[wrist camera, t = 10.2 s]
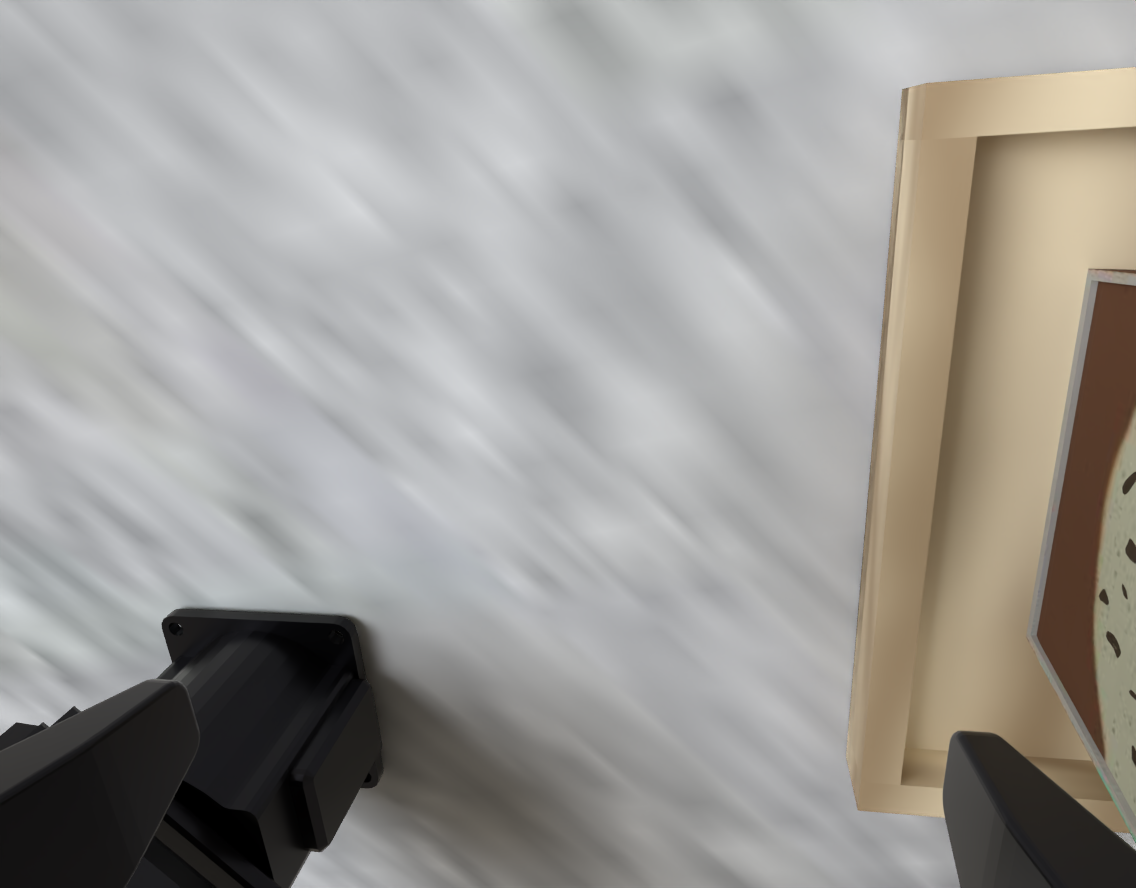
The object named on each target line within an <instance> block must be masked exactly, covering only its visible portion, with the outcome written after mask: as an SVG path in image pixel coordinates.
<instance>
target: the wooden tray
mask: <svg viewBox="0 0 1136 888" xmlns="http://www.w3.org/2000/svg"><path fill="white" fill-rule="evenodd" d="M1088 269H1127V270H1136V67H1131V68H1118V69H1105V70H1092V71H1079V72H1066V73H1053V74H1040V75H1027V76H1013V77H1000V78H987V79H974V80H961V81H948V82H935V83H925V84H921V85H917V86H913V87H910V88H906V89H902V99H901V111H900V122H899V134H898V146H897V158H896V170H895V182H894V193H893V205H892V217H891V229H890V241H889V253H888V265H887V276H886V288H885V300H884V312H883V324H882V336H881V347H880V359H879V371H878V383H877V395H876V407H875V419H874V430H873V442H872V454H871V466H870V478H869V490H868V501H867V513H866V525H865V537H864V549H863V561H862V573H861V584H860V596H859V608H858V620H857V632H856V644H855V655H854V667H853V679H852V691H851V703H850V715H849V727H848V738H847V750H846V759H847V763H848V768H849V772H850V777H851V781H852V786H853V790H854V795H855V799H856V804H857V808H858V810H859V811H871V812H883V813H895V814H907V815H919V816H931V817H943V818H945V815H944V809H943V784H944V777H945V770H946V763H947V756H948V749H949V743H950V739H951V737H952V735H953V733H955V732H957V731H960V730H962V731H978V732H991V733H995V734H997V735H999V736H1000V737H1002V738H1003V739H1004V740H1005V741H1007V742H1008V743H1009V744H1010V745H1011V746H1013V747H1014V748H1015V749H1016V750H1017V751H1018V752H1020V753H1021V754H1022V755H1023V756H1024V757H1026V758H1027V759H1028V760H1029V761H1030V762H1031V763H1033V764H1034V765H1035V766H1036V767H1037V768H1039V769H1040V770H1041V771H1042V772H1043V773H1045V774H1046V775H1047V776H1048V777H1049V778H1050V779H1052V780H1053V781H1054V782H1055V783H1056V784H1058V785H1059V786H1060V787H1061V788H1062V789H1063V790H1065V791H1066V792H1067V793H1068V794H1069V795H1071V796H1072V797H1073V798H1074V799H1075V800H1076V801H1078V802H1079V803H1080V804H1081V805H1082V806H1084V807H1085V808H1086V809H1087V810H1088V811H1090V812H1091V813H1092V814H1093V815H1094V816H1095V817H1097V818H1098V819H1099V820H1100V821H1101V822H1103V823H1104V824H1105V825H1106V826H1107V827H1108V828H1110V829H1111V830H1112V831H1113V832H1123V833H1130V831H1129V829H1128V827H1127V826H1126V824H1125V822H1124V820H1123V818H1122V816H1121V814H1120V812H1119V811H1118V809H1117V807H1116V805H1115V803H1114V801H1113V799H1112V797H1111V796H1110V794H1109V792H1108V790H1107V788H1106V786H1105V784H1104V782H1103V781H1102V779H1101V777H1100V775H1099V773H1098V771H1097V769H1096V767H1095V766H1094V764H1093V762H1092V760H1091V758H1090V756H1089V754H1088V752H1087V751H1086V749H1085V747H1084V745H1083V743H1082V741H1081V739H1080V737H1079V736H1078V734H1077V732H1076V730H1075V728H1074V726H1073V724H1072V722H1071V720H1070V719H1069V717H1068V715H1067V713H1066V711H1065V709H1064V707H1063V705H1062V704H1061V702H1060V700H1059V698H1058V696H1057V694H1056V692H1055V690H1054V689H1053V687H1052V685H1051V683H1050V681H1049V679H1048V677H1047V675H1046V674H1045V672H1044V670H1043V668H1042V666H1041V664H1040V662H1039V660H1038V659H1037V657H1036V655H1035V653H1034V651H1033V649H1032V647H1031V645H1030V644H1029V642H1028V640H1027V638H1026V634H1027V628H1028V622H1029V616H1030V610H1031V604H1032V598H1033V592H1034V586H1035V580H1036V574H1037V569H1038V563H1039V557H1040V551H1041V545H1042V539H1043V533H1044V527H1045V521H1046V515H1047V509H1048V503H1049V497H1050V492H1051V486H1052V480H1053V474H1054V468H1055V462H1056V456H1057V450H1058V444H1059V438H1060V432H1061V426H1062V421H1063V415H1064V409H1065V403H1066V397H1067V391H1068V385H1069V379H1070V373H1071V367H1072V361H1073V355H1074V349H1075V344H1076V338H1077V332H1078V326H1079V320H1080V314H1081V308H1082V302H1083V296H1084V290H1085V284H1086V278H1087V272H1088Z"/></svg>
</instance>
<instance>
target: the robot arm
mask: <svg viewBox="0 0 1136 888" xmlns="http://www.w3.org/2000/svg"><path fill="white" fill-rule="evenodd" d="M178 624H179V625H180V626H182V627H180V626H179V625H178ZM162 630H163V633H164V637H165V640H166V643H167V647H168V650H169V653H170V657H171V660H172V664H171V665H170V666H169V667H168V668H167V669H166V670H165V671H164V672H163V673H162V674H161V675H160V676H159V677H158V678H157V679H150V680H146V681H144V682H142V683H140V684H138V685H136V686H133V687H131V688H129V689H127V690H125V691H123V692H121V693H119V694H117V695H115V696H113V697H111V698H109V699H107V700H105V701H103V702H101V703H98V704H96V705H94V706H92V707H90V708H88V709H86V710H84V711H82V712H81V711H80V710H78V709H77V708H76V707H75V706H74V707H73V708H71V709H70V710H69V711H68V712H67V713H66V714H64V715H63V716H62V717H61V718H60V719H59V720H58V721H56V722H55V723H54V724H53V725H52V726H51V727H48V726H47V725H46V724H45V723H44V722H43V723H41V724H40V725H39V726H36V725H29V724H23V723H17V722H16V723H15V724H14V725H13V726H12V727H10V728H9V729H8V730H7V731H6V732H4V733H3V734H2V735H1V736H0V888H291V886H292V884H293V883H294V881H295V879H296V877H297V875H298V874H299V872H300V870H301V868H302V866H303V865H304V863H305V861H306V859H307V857H308V856H309V854H310V852H311V851H314V852H322V851H323V850H324V849H326V848H327V847H328V846H329V845H330V843H331V841H332V840H333V838H334V836H335V834H336V832H337V830H338V828H339V827H340V825H341V823H342V821H343V819H344V817H345V815H346V814H347V812H348V810H349V808H350V806H351V804H352V802H353V800H354V799H355V797H356V795H357V793H358V791H359V789H360V788H373V787H375V786H376V785H377V783H378V782H379V780H380V778H381V776H382V774H383V765H382V760H381V755H380V750H381V748H382V741H381V735H380V730H379V725H378V719H377V714H376V709H375V703H374V698H373V693H372V688H371V686H370V684H369V683H368V681H367V680H366V676H365V671H364V666H363V660H362V655H361V650H360V645H359V640H358V634H357V630H356V627H355V625H354V624H353V623H352V622H351V621H350V620H349V619H347V618H345V617H341V616H325V615H303V614H281V613H259V612H237V611H215V610H193V609H176V610H174V611H173V612H171V613H170V614H169V615H168V616H167V617H166V618H164V619H163V622H162ZM335 631H339V632H340V633H341V634H342V635H343V637H342V636H339V635H338V634H336V632H335ZM943 809H944V815H945V820H946V824H947V829H948V833H949V838H950V842H951V847H952V851H953V856H954V860H955V865H956V869H957V874H958V878H959V882H960V887H961V888H1136V850H1135V849H1133V848H1132V847H1131V846H1130V845H1129V844H1127V843H1126V842H1125V841H1124V840H1123V839H1122V838H1120V837H1119V836H1118V835H1117V834H1116V833H1114V832H1113V831H1112V830H1111V829H1110V828H1108V827H1107V826H1106V825H1105V824H1104V823H1103V822H1101V821H1100V820H1099V819H1098V818H1097V817H1095V816H1094V815H1093V814H1092V813H1091V812H1090V811H1088V810H1087V809H1086V808H1085V807H1084V806H1082V805H1081V804H1080V803H1079V802H1078V801H1076V800H1075V799H1074V798H1073V797H1072V796H1071V795H1069V794H1068V793H1067V792H1066V791H1065V790H1063V789H1062V788H1061V787H1060V786H1059V785H1058V784H1056V783H1055V782H1054V781H1053V780H1052V779H1050V778H1049V777H1048V776H1047V775H1046V774H1045V773H1043V772H1042V771H1041V770H1040V769H1039V768H1037V767H1036V766H1035V765H1034V764H1033V763H1031V762H1030V761H1029V760H1028V759H1027V758H1026V757H1024V756H1023V755H1022V754H1021V753H1020V752H1018V751H1017V750H1016V749H1015V748H1014V747H1013V746H1011V745H1010V744H1009V743H1008V742H1007V741H1005V740H1004V739H1003V738H1002V737H1000V736H999V735H997V734H995V733H991V732H978V731H962V730H960V731H957V732H955V733H953V735H952V737H951V739H950V743H949V749H948V756H947V763H946V770H945V777H944V784H943Z"/></svg>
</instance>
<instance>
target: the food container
mask: <svg viewBox="0 0 1136 888" xmlns="http://www.w3.org/2000/svg"><path fill="white" fill-rule="evenodd" d="M1026 638H1027V640H1028V642H1029V644H1030V645H1031V647H1032V649H1033V651H1034V653H1035V655H1036V657H1037V659H1038V660H1039V662H1040V664H1041V666H1042V668H1043V670H1044V672H1045V674H1046V675H1047V677H1048V679H1049V681H1050V683H1051V685H1052V687H1053V689H1054V690H1055V692H1056V694H1057V696H1058V698H1059V700H1060V702H1061V704H1062V705H1063V707H1064V709H1065V711H1066V713H1067V715H1068V717H1069V719H1070V720H1071V722H1072V724H1073V726H1074V728H1075V730H1076V732H1077V734H1078V736H1079V737H1080V739H1081V741H1082V743H1083V745H1084V747H1085V749H1086V751H1087V752H1088V754H1089V756H1090V758H1091V760H1092V762H1093V764H1094V766H1095V767H1096V769H1097V771H1098V773H1099V775H1100V777H1101V779H1102V781H1103V782H1104V784H1105V786H1106V788H1107V790H1108V792H1109V794H1110V796H1111V797H1112V799H1113V801H1114V803H1115V805H1116V807H1117V809H1118V811H1119V812H1120V814H1121V816H1122V818H1123V820H1124V822H1125V824H1126V826H1127V827H1128V829H1129V831H1130V833H1131V835H1132V837H1133V839H1134V841H1135V842H1136V270H1127V269H1088V272H1087V278H1086V284H1085V290H1084V296H1083V302H1082V308H1081V314H1080V320H1079V326H1078V332H1077V338H1076V344H1075V349H1074V355H1073V361H1072V367H1071V373H1070V379H1069V385H1068V391H1067V397H1066V403H1065V409H1064V415H1063V421H1062V426H1061V432H1060V438H1059V444H1058V450H1057V456H1056V462H1055V468H1054V474H1053V480H1052V486H1051V492H1050V497H1049V503H1048V509H1047V515H1046V521H1045V527H1044V533H1043V539H1042V545H1041V551H1040V557H1039V563H1038V569H1037V574H1036V580H1035V586H1034V592H1033V598H1032V604H1031V610H1030V616H1029V622H1028V628H1027V634H1026Z"/></svg>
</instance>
